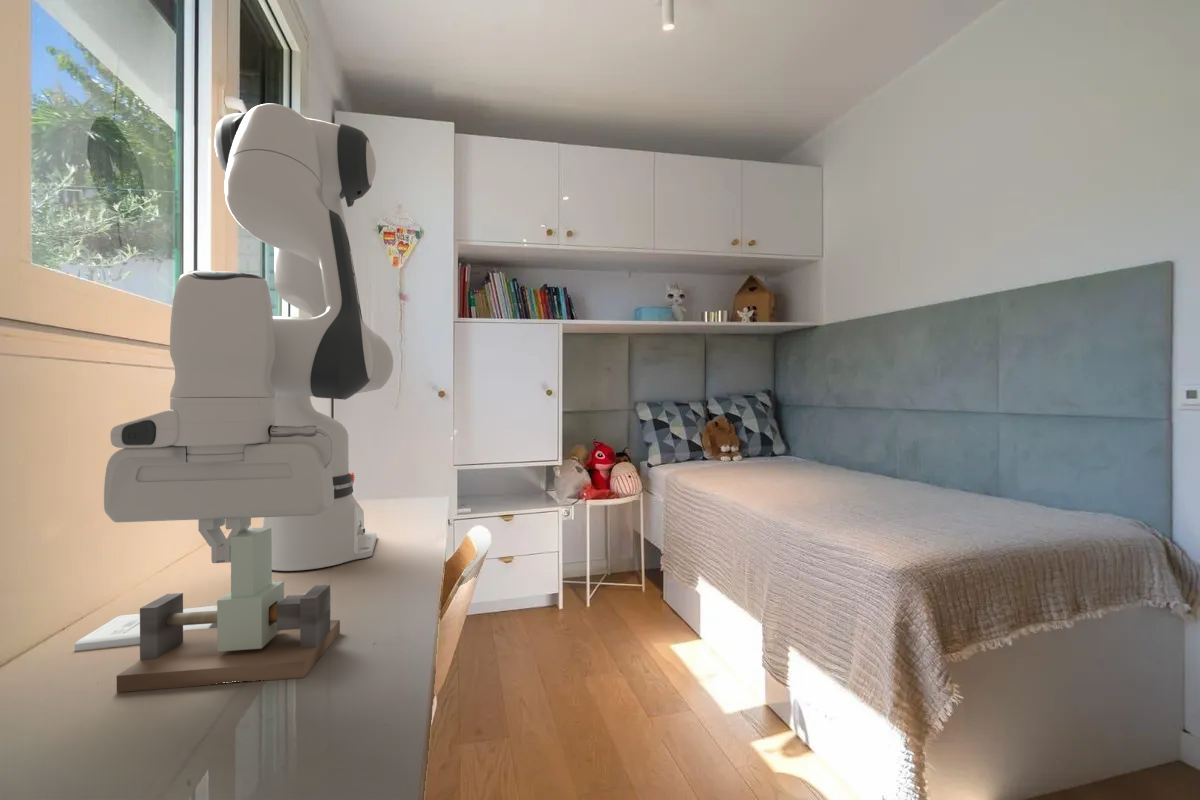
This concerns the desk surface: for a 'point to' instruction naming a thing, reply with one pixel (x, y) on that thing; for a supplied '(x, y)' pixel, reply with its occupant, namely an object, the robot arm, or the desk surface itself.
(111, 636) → the external hard drive
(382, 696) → the desk surface
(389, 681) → the desk surface
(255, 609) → the mint green stepped block
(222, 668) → the rod rail stand
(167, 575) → the desk surface
